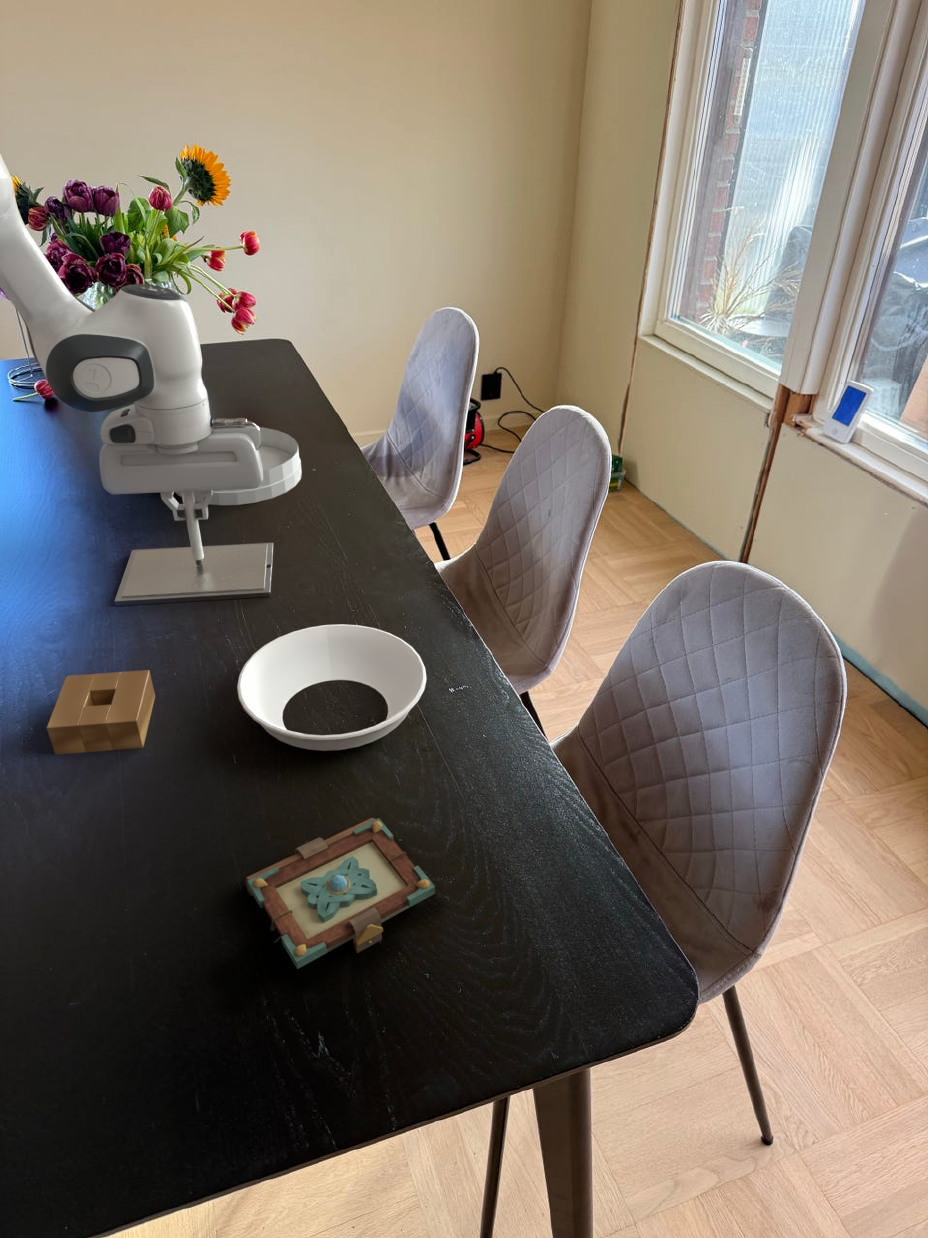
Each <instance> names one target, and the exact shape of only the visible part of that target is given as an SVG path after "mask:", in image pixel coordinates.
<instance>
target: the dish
mask: <svg viewBox="0 0 928 1238" xmlns="http://www.w3.org/2000/svg"><path fill="white" fill-rule="evenodd" d="M258 427H259V429H260V433H261V446H260V448H259V449H258V450H259V454H260V458H261V462H262V468H263V481H262V483H261V484H260V485H259V487H258V488H254V489H230V490H213V495H212V498H211V500H210V502H209V504H208V505H214V506H239V505H240V506H241V505H247V504H254V503H259V502H263V501H267V500H271V499H274V498H276V497H279V496H282V495H283V494H286V493H288V492H289V491H290V490H292V489H293V488H295V487H296V486H297V485H298V484H299V482H300V481H301V479H302V473H303V472H302V471H303V470H302V460H301V458H300V452H299V451H300V450H299V449H300V448H299V444H298V442H297V440H296V439H295V438H294V437H292V436H291V435H290V434H287V433H285V432H284V431H283V432H282V431H280V430H277V429H273V428H267V427H261V426H258ZM174 493H175V494H176V495H177V496H178V497H181V498H182V493H181V492H174ZM193 494H194V500H195V503H202V501H203V499H204V497H201V493H200V491H193Z"/></svg>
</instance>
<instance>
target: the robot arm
mask: <svg viewBox="0 0 928 1238" xmlns="http://www.w3.org/2000/svg"><path fill="white" fill-rule="evenodd" d="M0 289H1V290H2V292H3V293H4V294H5V296H6V297H7V298H8V299H9V301H10V302H11V304H12V305H13V306H14V308H15V309H16V311H17V312H18V313H19V315H20V317H21V319H22V321H23V323H24V325H25V329H26V333H27V338H28V343H29V346H30V350H31V353H32V355H33V358H34V359H35V361H36V363H37V364H38V365H39V367H40V368H41V371H42V373H43V375H44V377H45V379H46V381H47V383H48V385H49V387H50V389H51V390H52V393H54V395H55V396H56V397H57V398H58V400H60V401H61V402H63V404H65V405H67V406H69V407H70V408H72V409H75V410H78V411H80V412H81V411H82V412H86V413H99V412H104V411H110V410H112V409H115V410H113V411H111V412H110V413H108V415H107V416H106V418H105V419H104V420H103V422H102V424H101V427H100V431H99V433H100V439H101V441H102V442H103V444H102V446H101V448H100V451H99V455H98V456H99V457H98V459H99V461H98V462H99V472H100V474H99V475H100V480H101V484H102V488H103V489H104V490H105V491H106V492H107V493H108V494H110V495H132V494H152V493H153V494H155V493H157V494H158V493H160V499H161V500H162V502H163V503H164V504H165V505H166V506H167V507H168V508H169V509H170V510H171V511H172V515H173V520H174V522H181V521H186V515H185V510H184V505H183V503H179V502H178V501H177V500H176V498H175V497H174V493H175V492H182V491H200V493H201V497H204V499H203V501H202V503H198V502H195V506H196V507H195V514H196V520H198V521H200V520H201V521H202V520H208V519H209V507H208V506H209V505H210V504H209V502H210V500H211V498H212V495H213V490H230V489H254V488H258V487H259V485H260V484H261V483H262V481H263V468H262V462H261V458H260V454H259V450H258V449H259V448H260V446H261V433H260V429H259V427H260V426H258V425H257V424H256V423H255V422H253V421H251V420H248V419H247V418H245V417H237V418H212V417H211V410H210V403H209V395H208V391H207V388H206V386H205V384H204V380H203V378H202V369H203V356H202V349H201V343H200V338H199V337H200V336H199V332H198V328H197V323H196V319H195V316H194V314H193V311H192V307H191V305H190V304H189V302H188V301H187V300H186V299H185V298H184V297H183V296H182V295H180V294H179V293H178V292H176V291H175V290H172V289H170V288H168V287H162V286H159V285H156V284H155V285H154V284H147V283H134V284H127V285H124V286H122V287H120V289H119V290H118V291H117V293H116V294H115V295H114V296H113V297H112V298H111V299H110V300H108V301H107V302H106V303H104V304H103V305H102V306H100V307H99V308H97V309H95V308H93V307H92V306H91V305H90V304H88V303H86V302H85V301H83V300H81V299H80V298H78V297H77V296H76V295H74V294H73V293H72V291H71V290H69V289H68V287H67V286H66V285H65V283H64V282H63V281H62V279H61V278H60V276H59V275H58V273H57V272H56V271H55V269H54V268H53V266H52V265H51V263H50V262H49V260H48V259H47V257H46V256H45V254H44V253H43V252H42V250H41V248H40V247H39V246H38V244H37V243H36V241H35V240H34V238H33V236H32V235H31V233H30V232H29V230H28V229H27V227H26V225H25V222H24V220H23V217H22V216H21V212H20V210H19V208H18V203H17V198H16V194H15V186H14V182H13V177H12V176H11V174H10V170H9V169H8V167H7V164H6V161H5V160H4V157H3V156H2V154H1V153H0ZM125 405H127V406H125ZM123 406H124V407H123ZM116 408H117V409H116Z"/></svg>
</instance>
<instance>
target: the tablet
mask: <svg viewBox="0 0 928 1238" xmlns="http://www.w3.org/2000/svg"><path fill="white" fill-rule="evenodd" d="M202 548H203V554H204V558H203V559H202V561H203V564H202V565H196V560H194V559H193V556H192V550H191V546H185V547H182V546H181V547H164V548H163V547H162V548H143V549H132V550H131V552H130V555H129V558H128V561H127V564H126V567H125V570H124V573H123V575H122V578H121V582H120V584H119V587H118V590H117V593H116V595H115V597H114V598H115V599H114V606H115V607H124V606H141V605H159V604H172V603H189V602H190V603H191V602H206V601H222V600H223V601H224V600H236V599H237V600H240V599H256V598H257V599H258V598H259V599H260V598H271V594H272V580H273V566H274V565H273V563H274V548H275V547H274V542H259V543H242V544H224V545H223V544H222V545H220V544H219V545H204V546H203V545H202Z"/></svg>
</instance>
